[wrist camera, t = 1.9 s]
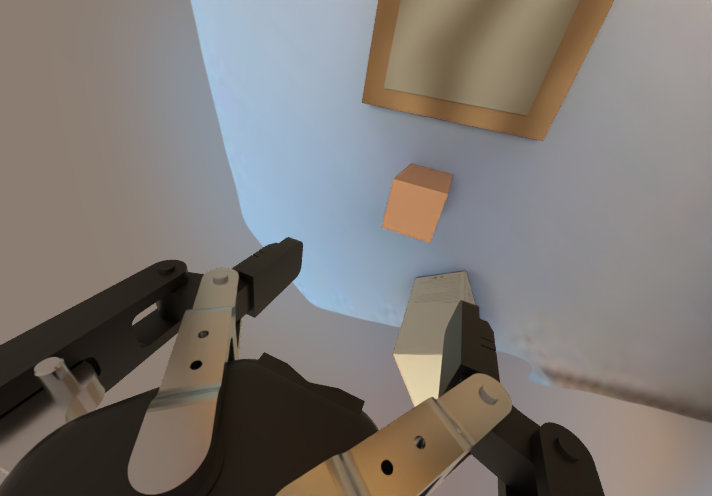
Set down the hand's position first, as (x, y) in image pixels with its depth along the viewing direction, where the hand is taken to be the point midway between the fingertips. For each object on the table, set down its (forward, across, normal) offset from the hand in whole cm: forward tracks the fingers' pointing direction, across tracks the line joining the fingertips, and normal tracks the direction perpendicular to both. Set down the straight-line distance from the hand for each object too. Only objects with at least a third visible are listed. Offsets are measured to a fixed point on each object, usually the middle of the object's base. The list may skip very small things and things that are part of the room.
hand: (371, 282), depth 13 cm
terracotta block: (+19, 0, 0) cm, 19 cm away
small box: (+19, -7, +13) cm, 24 cm away
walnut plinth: (+19, 0, -13) cm, 23 cm away
